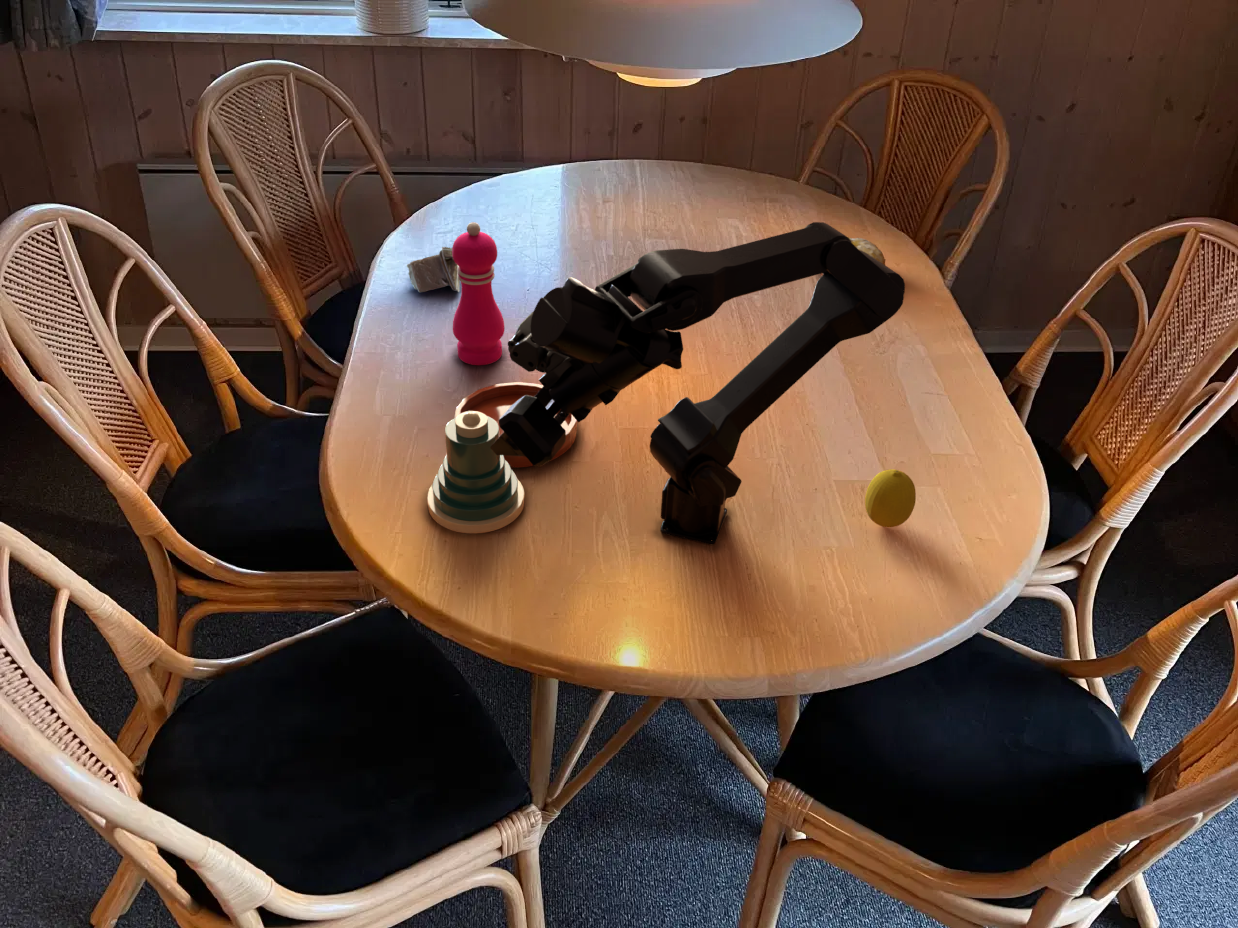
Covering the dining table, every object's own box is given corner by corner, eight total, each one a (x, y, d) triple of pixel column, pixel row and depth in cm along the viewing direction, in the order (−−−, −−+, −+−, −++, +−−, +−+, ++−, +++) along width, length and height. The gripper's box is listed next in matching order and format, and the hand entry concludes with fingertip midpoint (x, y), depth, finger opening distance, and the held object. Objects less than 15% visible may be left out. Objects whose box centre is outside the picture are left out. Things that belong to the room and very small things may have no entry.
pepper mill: (480, 336, 154) (473, 207, 142) (516, 353, 150) (512, 222, 138) (443, 355, 149) (433, 223, 137) (479, 373, 146) (472, 239, 134)
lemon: (877, 546, 119) (890, 491, 114) (850, 517, 123) (862, 462, 118) (917, 534, 121) (932, 479, 116) (889, 506, 125) (902, 452, 120)
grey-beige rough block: (416, 263, 172) (392, 238, 161) (457, 251, 172) (436, 225, 160) (429, 317, 171) (406, 296, 159) (470, 305, 170) (451, 283, 159)
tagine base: (592, 411, 139) (593, 394, 137) (551, 479, 127) (551, 461, 125) (485, 389, 142) (484, 373, 141) (435, 453, 130) (433, 436, 129)
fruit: (881, 296, 167) (875, 250, 163) (816, 301, 172) (809, 256, 168) (892, 266, 175) (886, 221, 171) (830, 271, 180) (823, 228, 176)
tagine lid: (538, 484, 126) (537, 396, 118) (502, 542, 117) (498, 451, 110) (452, 465, 128) (446, 378, 121) (411, 520, 120) (401, 430, 112)
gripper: (595, 261, 109) (503, 331, 119) (515, 344, 95) (418, 416, 105) (661, 343, 112) (566, 405, 122) (593, 435, 98) (492, 497, 108)
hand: (513, 427), depth 114 cm, fingers open, 9 cm apart
